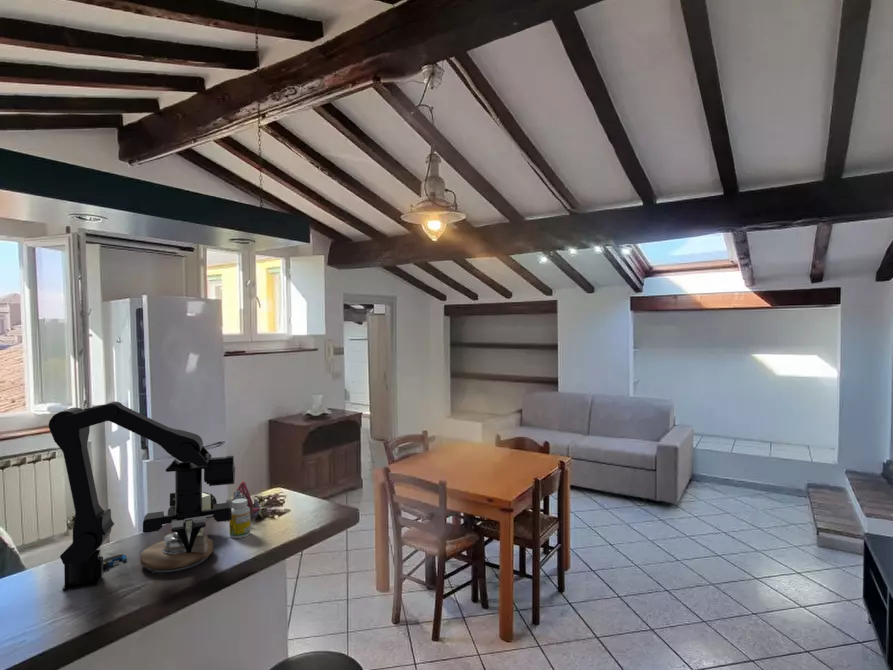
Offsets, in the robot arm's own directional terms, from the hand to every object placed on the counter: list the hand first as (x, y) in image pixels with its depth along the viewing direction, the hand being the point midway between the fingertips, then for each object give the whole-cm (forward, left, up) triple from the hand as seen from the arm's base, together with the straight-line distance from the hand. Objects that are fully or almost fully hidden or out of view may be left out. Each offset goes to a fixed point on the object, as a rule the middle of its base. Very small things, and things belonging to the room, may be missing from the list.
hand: (189, 552), depth 122 cm
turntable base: (-3, +6, -4) cm, 7 cm away
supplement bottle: (+12, +16, -4) cm, 21 cm away
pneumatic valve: (0, +21, -4) cm, 21 cm away
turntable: (-3, +6, -2) cm, 7 cm away
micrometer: (-19, +10, -4) cm, 22 cm away
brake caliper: (+14, +30, -4) cm, 33 cm away
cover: (-3, +6, -1) cm, 6 cm away
